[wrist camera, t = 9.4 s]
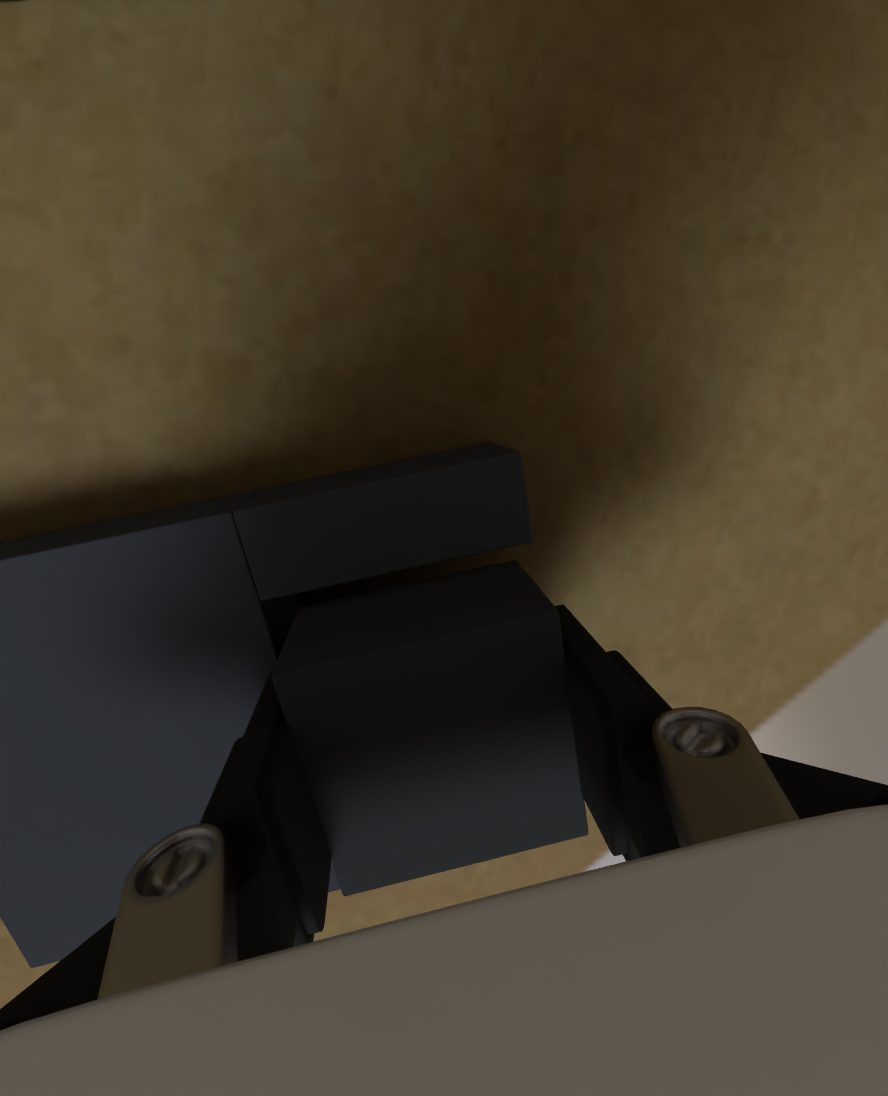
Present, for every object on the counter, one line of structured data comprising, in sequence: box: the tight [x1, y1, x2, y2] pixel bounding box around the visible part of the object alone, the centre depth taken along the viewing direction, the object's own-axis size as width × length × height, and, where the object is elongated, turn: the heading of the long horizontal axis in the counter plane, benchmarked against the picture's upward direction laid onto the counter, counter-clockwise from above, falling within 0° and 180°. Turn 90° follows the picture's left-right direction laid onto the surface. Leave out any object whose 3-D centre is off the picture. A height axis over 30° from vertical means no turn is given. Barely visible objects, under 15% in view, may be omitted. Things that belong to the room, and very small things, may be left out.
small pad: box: [271, 560, 588, 896], centre depth 11 cm, size 5×5×3 cm
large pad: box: [0, 442, 533, 968], centre depth 13 cm, size 14×10×3 cm
